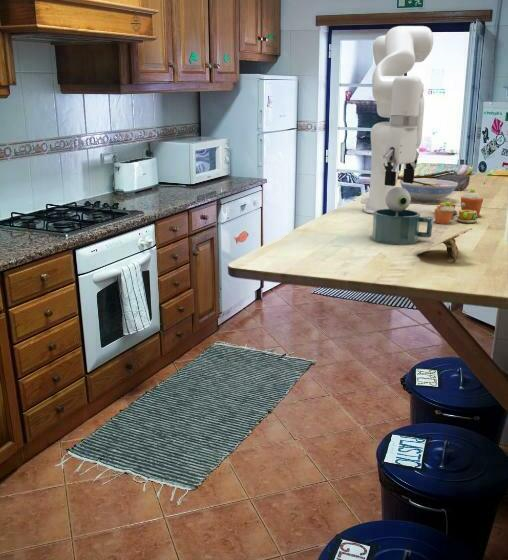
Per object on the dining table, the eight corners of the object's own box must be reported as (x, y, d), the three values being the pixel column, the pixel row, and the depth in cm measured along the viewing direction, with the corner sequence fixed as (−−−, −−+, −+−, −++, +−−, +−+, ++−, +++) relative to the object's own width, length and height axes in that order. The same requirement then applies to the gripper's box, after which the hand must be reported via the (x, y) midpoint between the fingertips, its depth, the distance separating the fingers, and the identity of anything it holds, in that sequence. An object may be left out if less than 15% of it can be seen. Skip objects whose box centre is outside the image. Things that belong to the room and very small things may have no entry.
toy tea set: (437, 211, 233) (439, 184, 231) (482, 214, 228) (485, 187, 225) (428, 223, 210) (430, 194, 207) (477, 227, 205) (480, 198, 202)
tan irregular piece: (414, 274, 174) (407, 247, 175) (466, 261, 174) (458, 234, 175) (431, 267, 156) (423, 237, 157) (488, 253, 156) (480, 223, 157)
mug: (370, 242, 182) (372, 215, 180) (373, 233, 194) (375, 207, 192) (431, 246, 178) (433, 218, 176) (430, 237, 190) (432, 210, 188)
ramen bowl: (470, 204, 249) (472, 183, 247) (421, 207, 241) (423, 185, 239) (431, 194, 271) (432, 175, 269) (385, 197, 263) (386, 177, 261)
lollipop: (389, 241, 182) (393, 189, 178) (378, 236, 189) (381, 185, 184) (411, 240, 184) (416, 188, 180) (400, 235, 191) (404, 185, 186)
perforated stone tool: (433, 189, 287) (434, 173, 285) (434, 187, 291) (435, 172, 289) (468, 191, 282) (470, 175, 280) (468, 189, 286) (470, 174, 284)
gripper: (408, 121, 185) (403, 180, 190) (375, 122, 173) (371, 185, 178) (431, 122, 180) (426, 183, 185) (399, 123, 168) (394, 188, 173)
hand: (399, 184), depth 182 cm, fingers open, 9 cm apart
